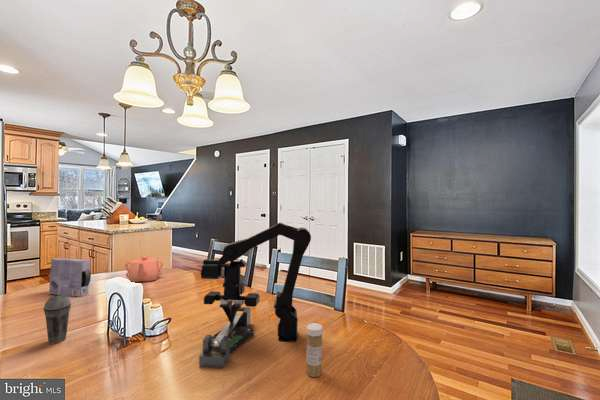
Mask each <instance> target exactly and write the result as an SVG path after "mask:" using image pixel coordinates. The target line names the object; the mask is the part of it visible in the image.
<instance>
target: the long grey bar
mask: <svg viewBox="0 0 600 400" xmlns="http://www.w3.org/2000/svg"><path fill="white" fill-rule="evenodd" d="M242 315H243V311H237V313H236V316H235V319H234V322H233V323H230V321H228V320H227V321H228V322H226V324H225V325H224V326H223V328H222V329H221V330H220V331H221V332H220V333H219V334H218V336H217V337H216V338H215V339H214V341H212V342H211V347H218V348H221V340H222V339H223V337H224V336H228V335H229V334H230V332H231V331H232V329H233V328H234V327H235V325H236V324H237V322H238V321H239V319H240V318H241V316H242Z"/></svg>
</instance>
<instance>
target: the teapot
mask: <svg viewBox="0 0 600 400" xmlns="http://www.w3.org/2000/svg"><path fill="white" fill-rule="evenodd" d="M159 263H160V265H159ZM128 265H129V267H128ZM163 265H164V262H163V261H162V260H161V259H158V257H148V256H147V255H144V256H141V257H140V258H134V259H133V260H131V261H128V262H126V263H125V265H124V267H125V270H126V273H125V277H127V278H128V281H129V280H130V281H132V282H131V283H139V282H152V281H156V280H157V279H158V277H159V276H161V275H162V274H163V272H162V268H163Z"/></svg>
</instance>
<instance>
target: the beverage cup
mask: <svg viewBox="0 0 600 400" xmlns="http://www.w3.org/2000/svg"><path fill="white" fill-rule="evenodd" d="M60 283H61V281H59V286H58V295H52V296H50V297H49V298H48V299H47V300H46V302H45V303H44V306H43V313H44V316H45V322H46V331H47V333H46V334H47V340H48V344H49V343H55V344H59V343H58V342H60V343H62V342H64V341H66V339H67V335H68V334H67V333H68V325H69V317H70V312H71V306H72V303H71V300H70V298H69V296H65V295H62V294H60ZM61 341H62V342H61Z"/></svg>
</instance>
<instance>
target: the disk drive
mask: <svg viewBox="0 0 600 400" xmlns="http://www.w3.org/2000/svg"><path fill="white" fill-rule="evenodd" d="M254 329H255V328H254V327H244V326H239V327H237V326H236V325H235V327H234V328H233V329H232V331H231V332H230V334H229V335H228V336H230V341H229V355H231V354H232V353H234V352H235V351H236V350H237V349H239V347H241V346H242V345H243V344H244V343H246V341H248V340H249V339H250V338H252V337H253V336H254V335H255V334H254V332H255V330H254ZM220 332H221V330H219V331H218V332H217V333H215V334H214V335H212V341H214V339H215V338H216V337H217V336H218V334H219V333H220ZM212 351H215V352H219V353H221V348H218V347H212Z"/></svg>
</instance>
